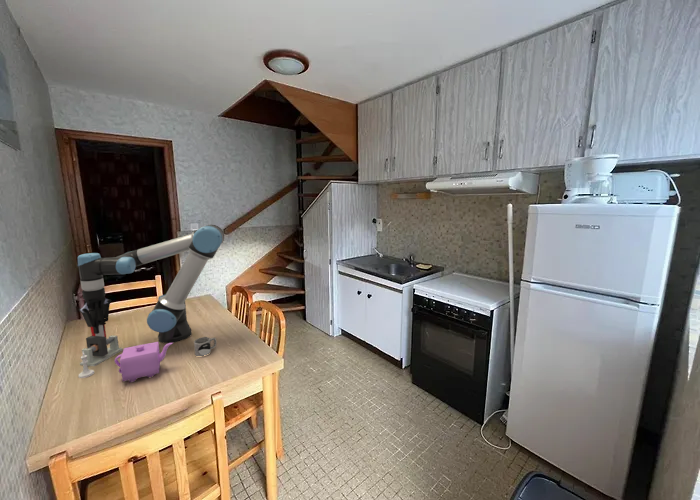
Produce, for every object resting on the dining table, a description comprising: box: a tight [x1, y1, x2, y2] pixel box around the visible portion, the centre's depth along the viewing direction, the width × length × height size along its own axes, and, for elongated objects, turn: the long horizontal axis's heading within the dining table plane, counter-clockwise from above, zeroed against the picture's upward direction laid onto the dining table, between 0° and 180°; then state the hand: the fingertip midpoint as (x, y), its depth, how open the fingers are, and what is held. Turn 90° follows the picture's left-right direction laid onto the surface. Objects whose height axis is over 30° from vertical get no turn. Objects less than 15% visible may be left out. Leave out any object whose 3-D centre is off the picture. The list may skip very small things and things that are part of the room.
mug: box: [193, 336, 217, 357], centre depth 138 cm, size 10×7×7 cm, turn 143°
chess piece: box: [78, 351, 95, 379], centre depth 119 cm, size 5×5×10 cm
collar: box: [85, 335, 108, 357], centre depth 130 cm, size 2×7×8 cm, turn 84°
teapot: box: [114, 341, 174, 383], centre depth 120 cm, size 20×10×12 cm, turn 120°
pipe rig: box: [79, 335, 124, 367], centre depth 132 cm, size 14×7×7 cm, turn 173°
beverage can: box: [90, 324, 108, 339], centre depth 143 cm, size 5×5×12 cm
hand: (100, 339), depth 132 cm, fingers closed
